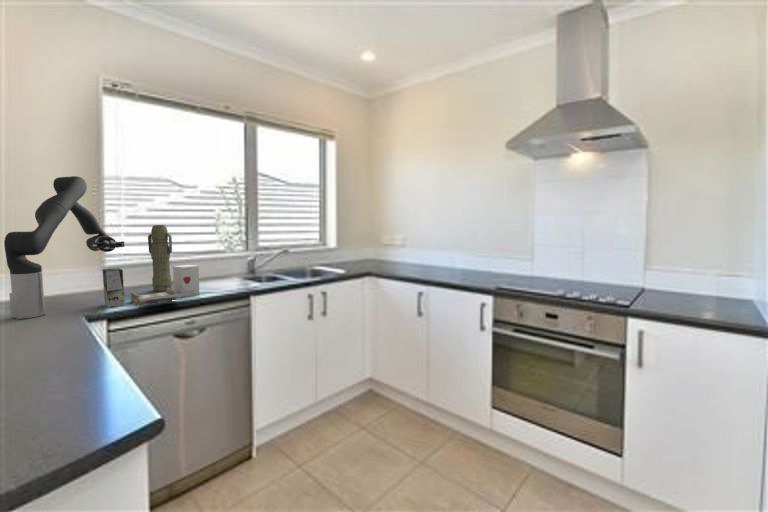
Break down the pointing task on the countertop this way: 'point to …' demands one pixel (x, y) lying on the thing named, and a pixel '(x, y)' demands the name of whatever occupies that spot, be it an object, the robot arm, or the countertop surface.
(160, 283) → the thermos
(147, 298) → the panel
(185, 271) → the supplement box
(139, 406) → the countertop surface
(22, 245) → the robot arm
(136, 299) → the flatbed
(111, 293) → the coffee box
